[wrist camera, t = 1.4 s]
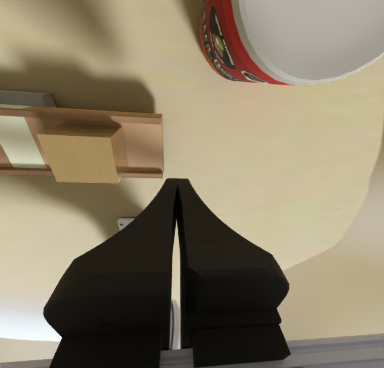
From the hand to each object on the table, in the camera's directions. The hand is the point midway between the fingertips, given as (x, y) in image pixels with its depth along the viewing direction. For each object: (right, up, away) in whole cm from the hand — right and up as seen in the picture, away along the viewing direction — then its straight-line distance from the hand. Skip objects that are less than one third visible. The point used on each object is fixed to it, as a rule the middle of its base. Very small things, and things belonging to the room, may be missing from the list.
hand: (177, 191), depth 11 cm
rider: (-8, +4, +5) cm, 10 cm away
